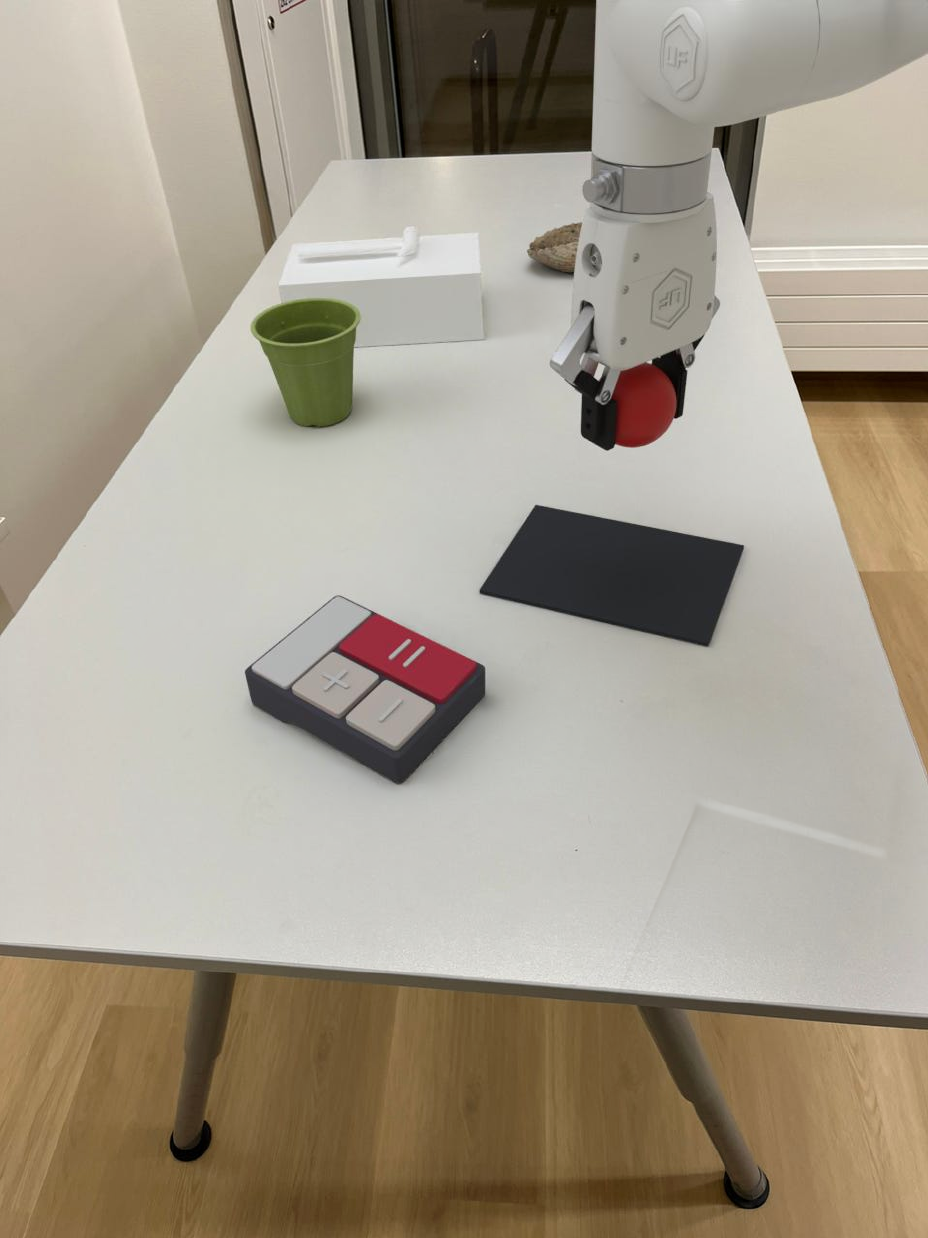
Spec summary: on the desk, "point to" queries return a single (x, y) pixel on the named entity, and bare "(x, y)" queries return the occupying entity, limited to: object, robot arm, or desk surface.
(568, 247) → the tan rough lump
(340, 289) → the tissue box
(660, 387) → the red ball
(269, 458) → the desk surface
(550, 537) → the side mat
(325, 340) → the plant pot
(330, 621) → the calculator
